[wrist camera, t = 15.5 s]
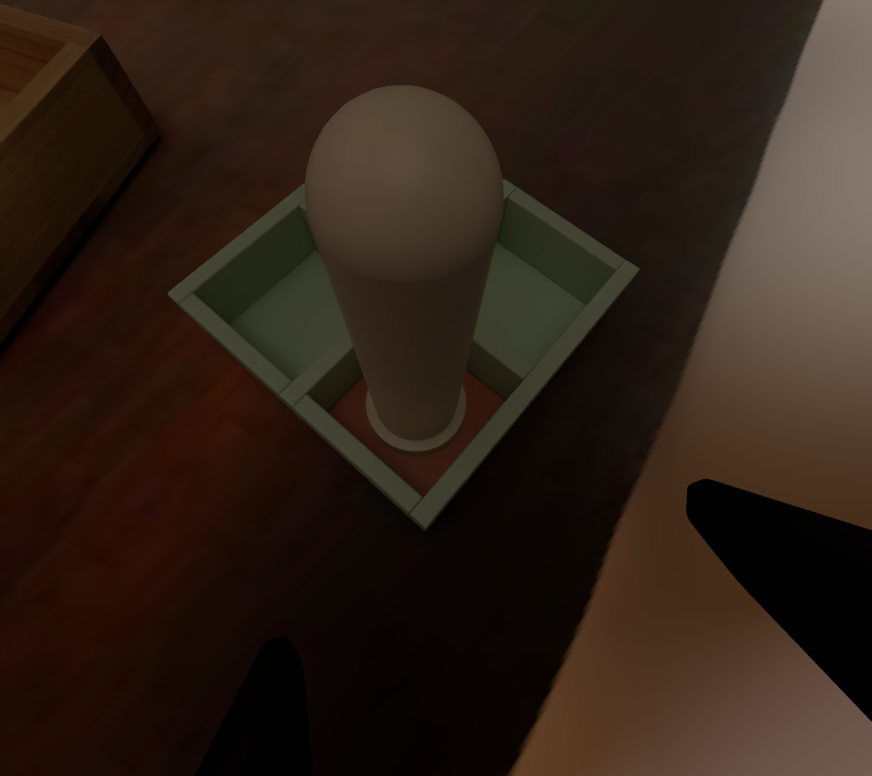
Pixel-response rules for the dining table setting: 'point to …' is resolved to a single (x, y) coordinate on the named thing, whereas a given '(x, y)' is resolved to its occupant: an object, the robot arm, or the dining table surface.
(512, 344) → the grid
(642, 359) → the dining table surface
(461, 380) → the beige rounded cylinder
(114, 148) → the tray
